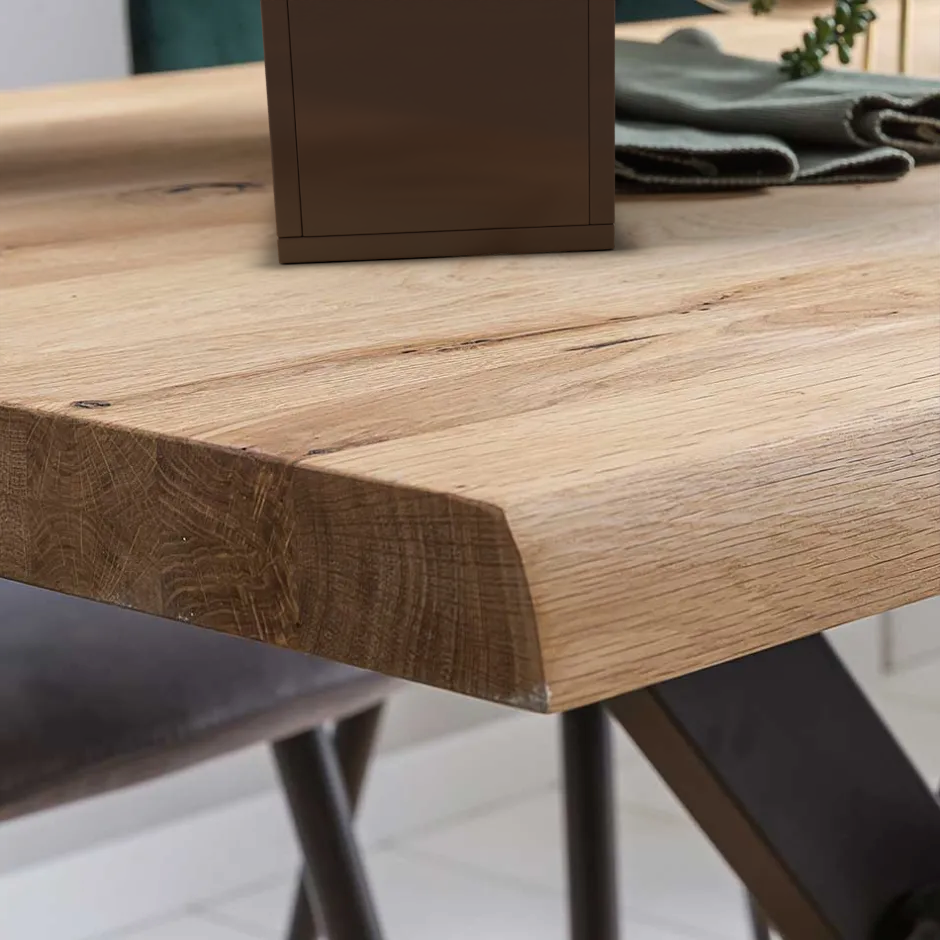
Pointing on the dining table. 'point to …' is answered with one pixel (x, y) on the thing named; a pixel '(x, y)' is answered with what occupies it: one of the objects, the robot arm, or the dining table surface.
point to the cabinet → (440, 127)
